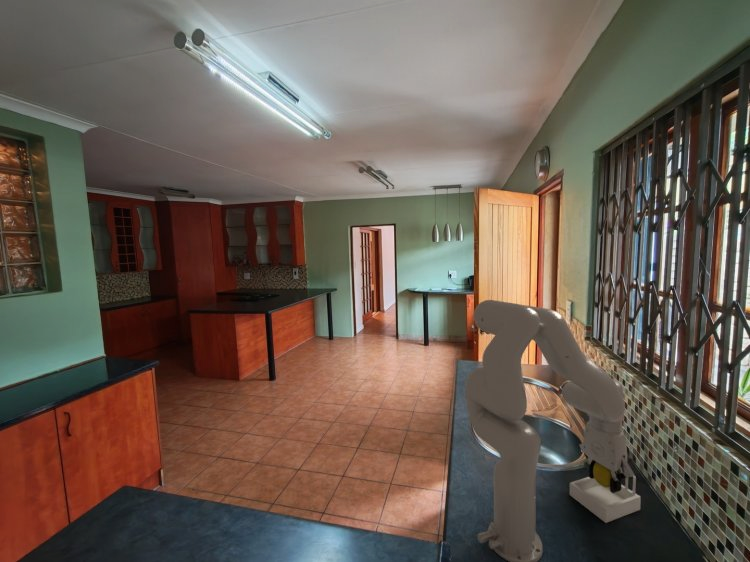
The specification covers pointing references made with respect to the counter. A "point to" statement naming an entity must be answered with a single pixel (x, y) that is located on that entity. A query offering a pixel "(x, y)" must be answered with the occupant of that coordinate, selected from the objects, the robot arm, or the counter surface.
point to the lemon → (602, 475)
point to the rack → (605, 498)
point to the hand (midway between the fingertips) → (604, 483)
